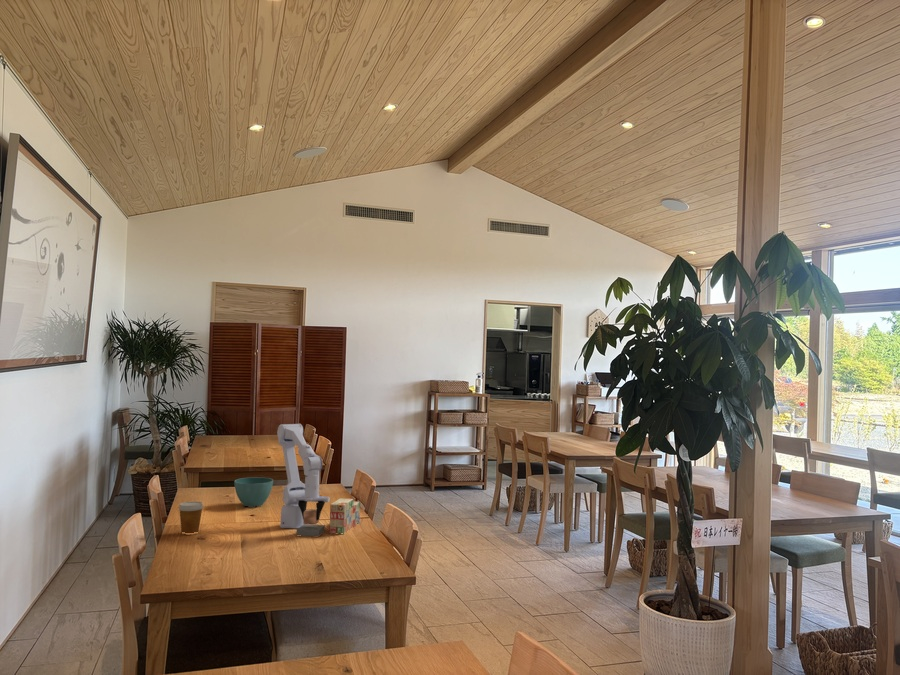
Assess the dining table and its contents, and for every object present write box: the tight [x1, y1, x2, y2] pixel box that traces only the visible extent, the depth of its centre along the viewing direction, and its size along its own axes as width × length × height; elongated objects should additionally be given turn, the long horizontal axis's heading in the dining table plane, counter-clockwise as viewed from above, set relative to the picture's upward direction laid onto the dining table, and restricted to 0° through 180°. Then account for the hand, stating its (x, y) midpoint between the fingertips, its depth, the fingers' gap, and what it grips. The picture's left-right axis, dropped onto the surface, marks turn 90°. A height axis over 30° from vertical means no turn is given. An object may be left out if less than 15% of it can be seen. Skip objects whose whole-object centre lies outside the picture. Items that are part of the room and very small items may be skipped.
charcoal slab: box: [296, 524, 326, 537], centre depth 274 cm, size 9×9×3 cm
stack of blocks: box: [329, 498, 361, 535], centre depth 285 cm, size 21×6×12 cm, turn 170°
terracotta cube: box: [303, 508, 320, 525], centre depth 275 cm, size 5×5×5 cm
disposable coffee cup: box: [178, 501, 204, 533], centre depth 271 cm, size 10×10×12 cm
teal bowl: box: [233, 476, 274, 508], centre depth 327 cm, size 18×18×12 cm
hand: (311, 519), depth 275 cm, fingers closed on terracotta cube, 5 cm apart
